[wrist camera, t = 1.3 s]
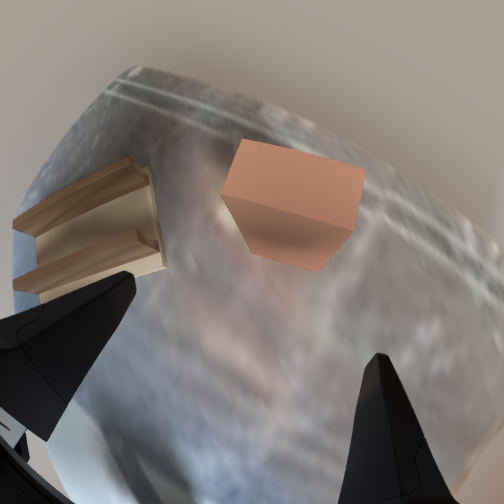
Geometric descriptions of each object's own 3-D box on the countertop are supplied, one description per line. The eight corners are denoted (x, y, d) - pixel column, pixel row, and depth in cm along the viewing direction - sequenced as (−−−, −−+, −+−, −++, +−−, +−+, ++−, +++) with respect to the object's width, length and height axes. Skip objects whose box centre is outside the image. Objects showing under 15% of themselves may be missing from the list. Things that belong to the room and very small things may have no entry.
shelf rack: (167, 267, 23) (140, 256, 19) (46, 305, 24) (14, 301, 19) (151, 170, 26) (128, 144, 21) (41, 222, 26) (13, 210, 22)
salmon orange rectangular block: (317, 272, 22) (353, 230, 10) (252, 253, 23) (220, 193, 11) (326, 239, 22) (365, 170, 11) (262, 221, 23) (242, 138, 12)
